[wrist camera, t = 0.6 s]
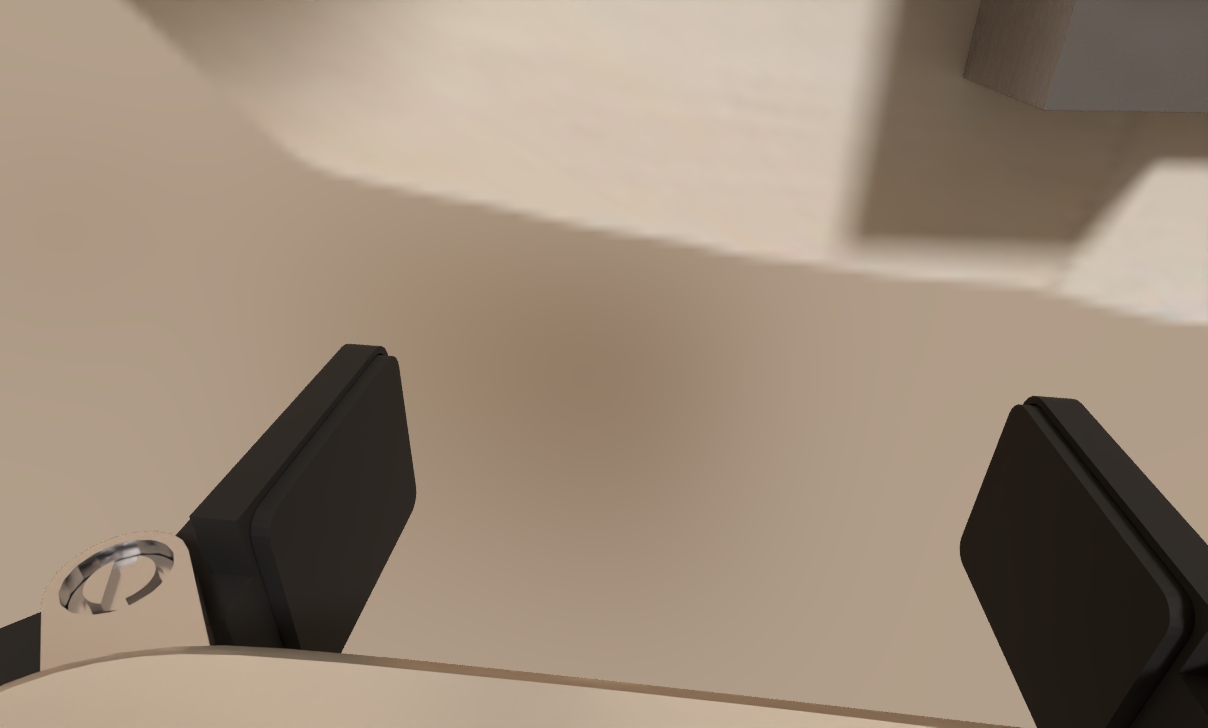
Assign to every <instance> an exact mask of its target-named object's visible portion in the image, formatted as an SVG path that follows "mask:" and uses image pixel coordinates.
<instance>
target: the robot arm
mask: <svg viewBox="0 0 1208 728" xmlns="http://www.w3.org/2000/svg"><path fill="white" fill-rule="evenodd" d="M415 499H416V484H415V477H414V470H413V463H412V455H411V449H410V442H409V434H408V427H407V420H406V413H405V406H404V399H403V391H402V385H401V377H400V370H399V364H398V361H397V359H396V358H395V357H394V356H388V353H387V352H386V350H385V348H384V347H382V346H370V345H357V344H345V345H344V346H343V347H342V348H341V349H340V350H339V351H338V352H337V353H336V354H335V355H334V356H333V357H332V359H331V360H330V361H329V362H328V363H327V364H326V365H325V366H324V368H323V369H322V370H321V371H320V372H319V373H318V374H317V375H316V376H315V378H314V379H313V380H312V381H311V382H310V383H309V384H308V385H307V386H306V387H305V389H304V390H303V391H302V392H301V393H300V394H299V396H298V397H297V398H296V399H295V400H294V401H293V402H292V403H291V404H290V406H289V407H288V408H287V409H286V410H285V411H284V412H283V413H282V414H281V415H280V416H279V417H278V419H277V420H276V421H275V422H274V423H273V424H272V425H271V426H270V427H269V429H268V430H267V431H266V432H265V433H264V434H263V435H262V436H261V437H260V439H259V440H258V441H257V442H256V443H255V444H254V445H253V446H252V447H251V449H250V450H249V451H248V452H247V453H246V454H245V455H244V456H243V458H242V459H241V460H240V461H239V462H238V463H237V464H236V465H235V466H234V467H233V468H232V470H231V471H230V472H229V473H228V474H227V475H226V477H224V479H223V480H222V481H221V482H220V483H219V484H218V485H217V486H216V487H215V489H214V490H213V491H212V492H211V493H210V494H209V495H208V496H207V498H206V499H205V500H204V501H203V502H202V503H201V504H200V505H199V506H198V507H197V509H196V510H195V511H194V512H193V513H192V514H191V515H190V516H189V517H190V520H189V521H188V522H187V523H186V524H185V526H184V527H183V528H182V529H181V530H180V531H179V532H178V533H177V535H176V536H174V535H173V534H171V533H165V532H159V531H145V532H134V533H130V534H126V535H122V536H117V537H114V538H111V539H109V540H107V541H104V542H102V543H100V544H97V545H94V546H92V547H91V548H89V549H87V550H86V551H84V552H82V553H81V554H79V555H77V556H76V557H74V558H73V559H71V560H70V561H69V562H68V563H67V564H66V565H64V566H63V567H62V568H61V569H60V570H59V571H58V572H56V574H55V575H54V577H53V578H52V579H51V581H50V582H49V584H48V585H47V586H46V588H45V591H44V595H43V598H42V602H41V612H40V613H37V614H35V615H32V616H30V617H27V618H25V619H22V620H20V621H17V622H15V623H13V624H10V625H8V626H5V627H3V628H0V728H1020V727H1011V726H1002V725H994V724H985V723H976V722H968V721H960V720H950V719H942V718H934V717H925V716H917V715H908V714H900V713H891V712H883V711H874V710H866V709H857V708H849V707H840V706H830V705H822V704H813V703H804V702H795V701H786V700H778V699H769V698H759V697H751V696H742V695H733V694H724V693H715V692H706V691H697V690H688V689H678V688H670V687H661V686H651V685H643V684H633V683H625V682H616V681H606V680H598V679H587V678H579V677H569V676H559V675H550V674H540V673H532V672H522V671H512V670H503V669H494V668H484V667H475V666H465V665H456V664H446V663H437V662H428V661H418V660H409V659H398V658H387V657H375V656H364V655H353V654H342V653H341V652H342V650H343V648H344V646H345V644H346V642H347V640H348V638H349V636H350V634H351V632H352V630H353V628H354V626H355V624H356V622H357V620H358V618H359V616H360V614H361V612H362V610H363V608H364V606H365V604H366V602H367V600H368V598H369V596H370V594H371V592H372V590H373V588H374V586H375V584H376V582H377V580H378V578H379V576H380V574H381V572H382V570H383V568H384V566H385V564H386V563H387V561H388V559H389V556H390V554H391V552H392V550H393V549H394V547H395V545H396V542H397V541H398V538H399V537H400V535H401V533H402V531H403V529H404V527H405V525H406V523H407V521H408V519H409V517H410V515H411V513H412V511H413V508H414V504H415ZM960 556H961V561H962V564H963V566H964V568H965V570H966V572H967V575H968V577H969V579H970V581H971V584H972V586H973V588H974V590H975V592H976V594H977V597H978V599H979V601H980V603H981V606H982V608H983V610H984V612H985V614H986V617H987V619H988V621H989V623H990V625H991V628H992V630H993V632H994V634H995V636H996V638H997V640H998V643H999V645H1000V647H1001V649H1002V652H1003V654H1004V656H1005V658H1006V660H1007V663H1008V665H1009V667H1010V669H1011V671H1012V674H1013V676H1014V678H1015V680H1016V682H1017V684H1018V686H1019V689H1020V691H1021V693H1022V696H1023V698H1024V700H1025V702H1026V704H1027V706H1028V709H1029V711H1030V713H1031V715H1032V718H1033V720H1034V722H1035V724H1036V726H1037V728H1208V545H1207V544H1206V543H1205V542H1204V540H1203V539H1202V538H1201V537H1200V536H1199V535H1198V534H1197V533H1196V531H1195V530H1194V529H1193V528H1192V527H1191V526H1190V525H1189V524H1188V523H1187V521H1186V520H1185V519H1184V518H1183V517H1182V516H1181V515H1180V514H1179V512H1178V511H1177V510H1176V509H1175V508H1174V507H1173V506H1172V505H1171V503H1170V502H1169V501H1168V500H1167V499H1166V498H1165V497H1164V496H1163V494H1162V493H1161V492H1160V491H1159V490H1158V489H1157V488H1156V487H1155V485H1154V484H1153V483H1152V482H1151V481H1150V480H1149V479H1148V478H1147V476H1146V475H1145V474H1144V473H1143V472H1142V471H1141V470H1140V469H1139V467H1138V466H1137V465H1136V464H1135V463H1134V462H1133V461H1132V460H1131V459H1130V457H1129V456H1128V455H1127V454H1126V453H1125V452H1124V451H1123V450H1122V449H1121V447H1120V446H1119V445H1118V444H1117V443H1116V442H1115V441H1114V440H1113V438H1112V437H1111V436H1110V435H1109V434H1108V433H1107V432H1106V431H1105V429H1104V428H1103V427H1102V426H1101V425H1100V424H1099V423H1098V422H1097V420H1096V419H1095V418H1094V417H1093V416H1092V415H1091V414H1090V413H1089V411H1088V410H1087V409H1086V408H1085V407H1084V406H1083V405H1082V404H1081V403H1080V402H1079V401H1078V400H1075V399H1067V398H1054V397H1041V396H1032V397H1029V398H1028V399H1027V400H1026V401H1025V402H1024V404H1023V405H1019V404H1018V405H1016V406H1014V407H1013V408H1012V409H1011V412H1010V413H1009V416H1008V419H1007V421H1006V423H1005V426H1004V429H1003V431H1002V434H1001V436H1000V439H999V442H998V444H997V447H996V449H995V452H994V455H993V457H992V460H991V463H990V465H989V468H988V470H987V473H986V475H985V478H984V480H983V483H982V486H981V488H980V491H979V493H978V496H977V499H976V501H975V504H974V506H973V509H972V512H971V514H970V517H969V519H968V522H967V525H966V527H965V530H964V533H963V535H962V538H961V541H960Z"/></svg>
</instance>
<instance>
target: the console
mask: <svg viewBox="0 0 1208 728" xmlns="http://www.w3.org/2000/svg"><path fill="white" fill-rule="evenodd" d="M963 78H965V79H968V80H970V81H973V82H975V83H978V84H980V85H983V86H985V87H987V88H990V89H992V90H995V91H997V92H1000V93H1002V94H1005V95H1007V96H1010V97H1012V98H1015V99H1017V100H1020V101H1022V102H1025V103H1027V104H1030V105H1032V106H1034V107H1037V108H1039V109H1042V110H1063V111H1133V112H1204V113H1208V0H982V1H981V5H980V9H979V13H978V18H977V22H976V26H975V30H974V35H973V39H972V43H971V47H970V52H969V56H968V60H967V64H966V69H965V73H964V77H963Z"/></svg>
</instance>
